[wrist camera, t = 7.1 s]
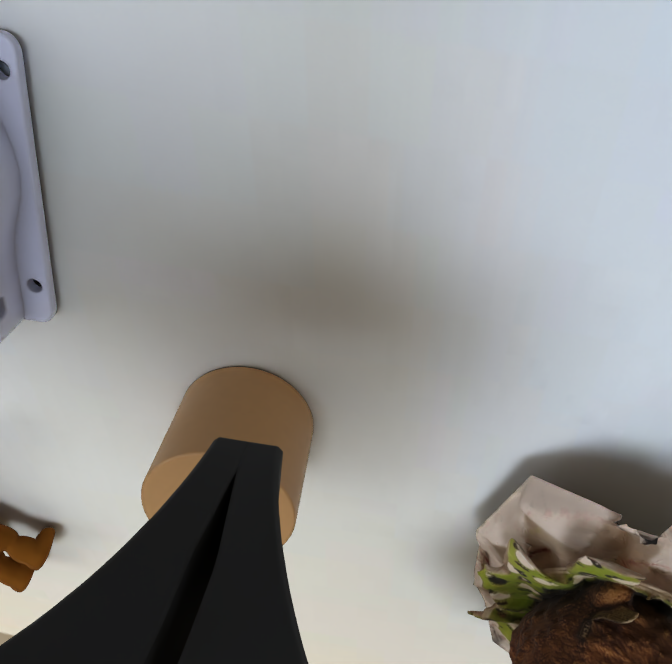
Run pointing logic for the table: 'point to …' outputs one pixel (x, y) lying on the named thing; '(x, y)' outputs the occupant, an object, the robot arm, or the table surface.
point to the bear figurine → (573, 581)
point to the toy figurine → (22, 556)
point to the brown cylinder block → (235, 433)
